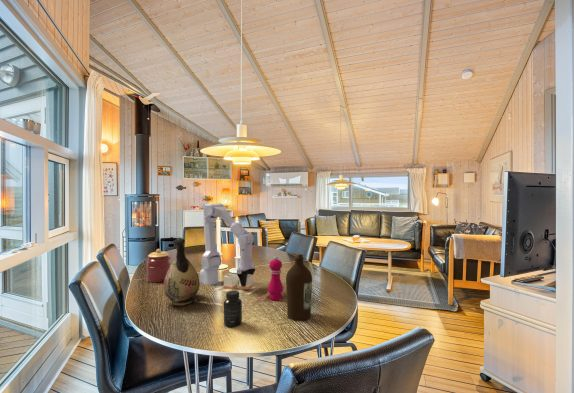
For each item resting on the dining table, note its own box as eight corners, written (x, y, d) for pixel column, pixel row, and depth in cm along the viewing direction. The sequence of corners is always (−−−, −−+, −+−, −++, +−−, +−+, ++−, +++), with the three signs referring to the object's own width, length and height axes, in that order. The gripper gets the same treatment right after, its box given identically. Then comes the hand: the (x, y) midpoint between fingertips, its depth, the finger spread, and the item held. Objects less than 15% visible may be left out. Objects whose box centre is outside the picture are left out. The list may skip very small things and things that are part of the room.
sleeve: (239, 288, 146) (239, 276, 146) (244, 285, 151) (244, 273, 151) (248, 289, 144) (248, 277, 144) (253, 286, 149) (253, 274, 149)
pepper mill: (271, 302, 134) (271, 258, 134) (265, 297, 141) (265, 255, 141) (285, 299, 138) (286, 256, 138) (279, 294, 144) (279, 254, 144)
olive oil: (281, 318, 117) (281, 255, 117) (293, 309, 126) (293, 250, 126) (305, 324, 112) (305, 258, 112) (316, 314, 121) (316, 253, 121)
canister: (159, 283, 162) (159, 251, 161) (140, 281, 166) (140, 250, 166) (175, 277, 174) (175, 247, 174) (157, 275, 178) (157, 246, 178)
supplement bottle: (224, 320, 115) (224, 289, 115) (242, 319, 116) (242, 289, 116) (222, 328, 108) (222, 295, 108) (241, 327, 109) (241, 295, 109)
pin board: (213, 292, 147) (213, 280, 147) (227, 285, 159) (227, 274, 158) (249, 297, 140) (249, 285, 140) (260, 290, 151) (260, 278, 151)
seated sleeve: (223, 288, 149) (223, 276, 149) (229, 285, 154) (229, 273, 154) (232, 289, 147) (232, 277, 147) (237, 286, 152) (237, 274, 152)
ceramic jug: (163, 299, 138) (163, 235, 138) (197, 294, 144) (197, 233, 144) (163, 312, 123) (163, 240, 122) (202, 306, 129) (202, 238, 128)
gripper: (246, 261, 139) (245, 290, 139) (260, 255, 153) (259, 281, 153) (233, 260, 142) (233, 288, 142) (248, 254, 155) (247, 280, 155)
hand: (246, 284), depth 147 cm, fingers closed on sleeve, 5 cm apart
